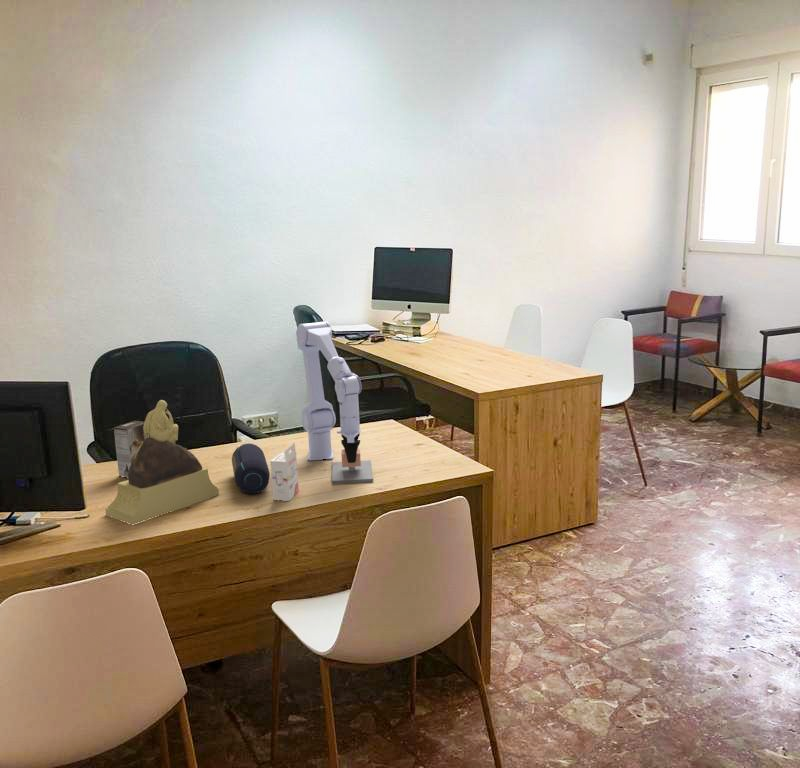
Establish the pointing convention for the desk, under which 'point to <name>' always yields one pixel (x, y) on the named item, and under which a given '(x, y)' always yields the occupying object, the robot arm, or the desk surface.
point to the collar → (345, 461)
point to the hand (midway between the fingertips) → (351, 459)
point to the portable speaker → (250, 468)
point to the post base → (352, 473)
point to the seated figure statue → (160, 474)
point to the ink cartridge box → (285, 475)
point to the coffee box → (128, 444)
